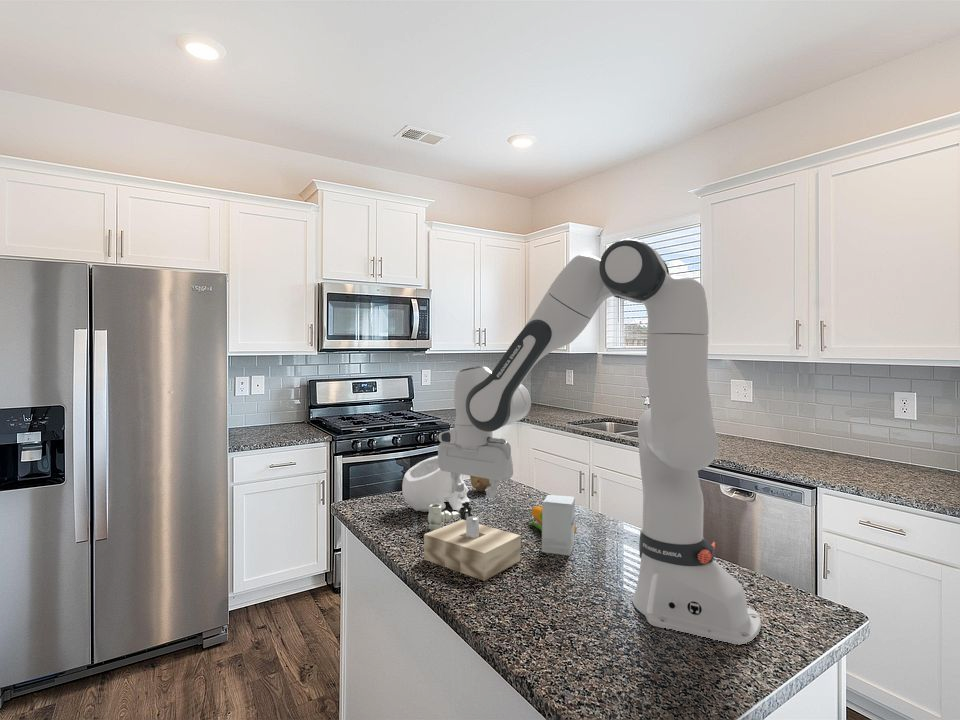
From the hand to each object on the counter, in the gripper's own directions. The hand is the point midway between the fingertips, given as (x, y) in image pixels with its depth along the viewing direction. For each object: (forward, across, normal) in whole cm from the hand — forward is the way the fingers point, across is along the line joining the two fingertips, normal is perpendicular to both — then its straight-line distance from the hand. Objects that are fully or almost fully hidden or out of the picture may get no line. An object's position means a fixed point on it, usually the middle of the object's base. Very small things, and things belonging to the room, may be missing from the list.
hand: (474, 494), depth 123 cm
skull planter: (+15, +34, -23) cm, 44 cm away
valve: (+16, +20, -13) cm, 29 cm away
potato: (+16, +36, -48) cm, 62 cm away
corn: (+16, -4, -28) cm, 33 cm away
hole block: (+16, +1, 0) cm, 16 cm away
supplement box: (+16, -11, -19) cm, 27 cm away
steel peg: (+16, +1, 0) cm, 16 cm away
